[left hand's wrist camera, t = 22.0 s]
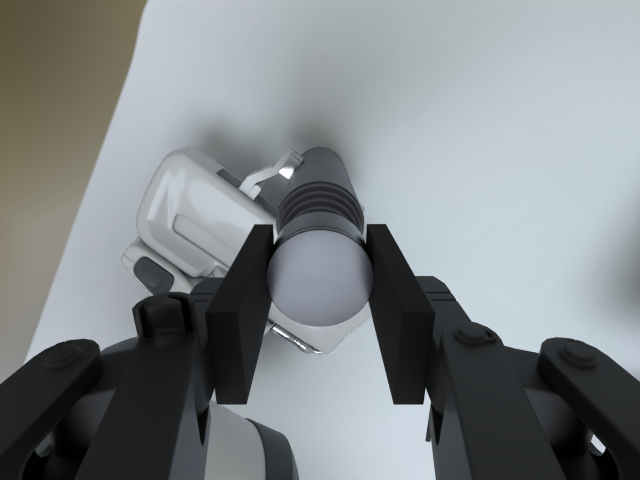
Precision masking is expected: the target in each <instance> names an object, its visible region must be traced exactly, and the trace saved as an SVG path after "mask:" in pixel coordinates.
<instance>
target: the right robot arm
mask: <svg viewBox="0 0 640 480" xmlns="http://www.w3.org/2000/svg"><path fill="white" fill-rule="evenodd" d="M303 159H304V158H303V157H302V156H300V155H299V154H298V153H297V152H296V151H294V150H293V149H292V148H291V147H288V148H287V149H286V151H285V152H284V153H283V154H282V156H281V157H280V158H279V160H278V161H277V163H276V164H275V163H273V164H271V165H268V166H266V167H263V168H261V169H258V170H256V171H253V172H251V173H250V174H249V175H248V176H247V177H246V179H245V180H244V181H242V180H240V179H239V178H238V177H236V176H235V175H234V174H232V173H231V172H230V171H228V170H227V169H226V168H224V167H223V166H222V165H220V164H219V163H218V162H216V161H215V160H214V159H212V158H211V157H210V156H208V155H207V154H206V153H204V152H203V151H202V150H200V149H199V148H197V147H188V148H182V149H178V150H175V151H172V152H171V153H169V154H168V155H167V156H166V157H165V158H164V159H163V161H162V163H161V164H160V166H159V167H158V169H157V171H156V173H155V175H154V176H153V178H152V180H151V182H150V184H149V186H148V188H147V191H146V193H145V195H144V197H143V200H142V202H141V205H140V207H139V210H138V214H137V219H136V225H137V231H138V233H139V235H140V236H139V237H138V238H136V239H135V240H134V241H133V242H132V244H131V245H130V246H129V247H128V248H127V249H126V251H125V252H124V254H123V256H122V264H123V265H124V267H125V268H126V269H127V271H128V272H129V273H130V274H131V275H132V276H133V277H134V278H135V279H136V280H137V281H138V282H139V283H140V284H141V286H142V287H143V288H144V289H145V290H146V291H147V292H148V293H149V295H150V296H153V295H156V294H159V293H165V292H184V293H188V294H190V292H191V291H192V289H193V288H194V286H195V285H196V284H198V283H199V282H201V281H202V280H204V279H205V278H207V277H225V276H226V274H227V272H228V270H229V269H230V267H231V265H232V263H233V262H234V260H235V258H236V256H237V254H238V253H239V251H240V249H241V247H242V246H243V244H244V242H245V240H246V238H247V237H248V235H249V233H250V231H251V229H252V228H253V226H254V224H273V230H274V244H275V241H276V239H277V237H278V235H277V229H276V216H277V212H278V209H279V208H278V207H276V206H275V205H274V204H272V203H271V202H270V201H268V200H267V199H266V198H264V197H263V196H262V195H260V194H259V192H260V191H261V189H262V188H263V186H264V185H265V182H264V181H263V180H265V179H267V178H270V177H272V176H275V175H277V174H279V173H280V174H282V175H283V176H284V177H286V178H287V179H288V180H289V179H290V177H291V176H292V175H293V173H294V171H295V169H296V168H298V167H299V166H300V164H301V163H302V162H303ZM360 206H361V209H362V211H363V212H364V207H363V205H362V204H360ZM371 316H372V314H371V310H370V306H369V302H367V303H366V305H365V306H364V307H363V308H362V309H361V310H360V312H358V313H357V314H356V315H355V316H353V317H352V318H350V319H349V320H346V321H344V322H342V323H339V324H336V325H332V326H324V327H316V326H308V325H304V324H301V323H298V322H296V321H294V320H292V319H290V318H289V317H287V316H285V315H284V314H283V313H282V312H281V311H280V310H279V309H278V308H277V307H276V306H275V304H274V303H273V301H272V303H271V307H270V311H269V315H268V319H267V323H266V327H265V331H264V335H265V334H266V333H267V332H268V331H269V330H270V331H271V332H273V333H274V334H276V335H278V336H279V337H281V338H282V339H284V340H286V341H288V342H290V343H292V344H294V345H295V346H297V348H298V349H299V350H301V351H302V352H304V353H307V354H310V353H311V352H313V353H316V354H328V353H330V352H331V351H332V350H333V349H334V348H335V347H336V346H337V345H338V344H339V343H340V342H341V341H342V340H343V338H344V337H346V336H347V335H349V334H350V333H351V332H353V331H354V330H355V329H356V328H358V327H359V326H360V325H361V324H363V323H364V322H365V321H366V320H367V319H368V318H370V317H371ZM264 335H263V336H264ZM138 341H139V339H138V335H137V337H134V338H130V339H127V340H124V341H122V342H119V343H117V344H114V345H112V346H109V347H107V348H105V349H104V350H102V351H101V355H103V354H108V353H113V352H118V351H123V350H128V349H132V348H135V347H136V345H137V343H138ZM315 348H316V349H315ZM214 392H215V389H214ZM214 392H213V393H214ZM209 406H210V413H211V425H210V433H209V442H208V451H207V459H206V468H205V477H204V480H299V476H298V470H297V466H296V462H295V459H294V455H293V452H292V449H291V447H290V444H289V442H288V440H287V438H286V437H285V436H284V435H283V434H282V433H280V432H277V431H275V430H273V429H271V428H268V427H266V426H264V425H262V424H259V423H257V422H255V421H253V420H250V419H247V418H243V417H241V416H239V415H238V414H236V413H234V412H232V411H231V410H229V409H227V408H225V407H224V406H222V405H220V404H217V402H215V401H213V400H210V402H209ZM49 444H50V441H49V438H48V436H47V437H46V438H45V439H44V440H43V441H42V442H41V443H40V444H39V446H38V447H37V448H36V449H35V451H36V453H37V454H38V455H39V454H40V453H41V452H42V451H43V450H44V449H45V448H46V447H47V446H48V445H49Z"/></svg>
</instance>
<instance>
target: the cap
mask: <svg viewBox="0 0 640 480" xmlns="http://www.w3.org/2000/svg"><path fill="white" fill-rule="evenodd" d="M266 275H267V290H268V293H269V296H270V298H271V300H272V301H273V303H274V304H275V306H276V307H277V308H278V309H279V310H280V311H281V312H282V313H283V314H284V315H285V316H287V317H289V318H290V319H292V320H294V321H296V322H298V323H301V324H304V325H308V326H316V327H324V326H332V325H336V324H339V323H342V322H344V321H346V320H349V319H350V318H352V317H353V316H355V315H356V314H357V313H358V312H360V310H361V309H362V308H363V307H364V306H365V305H366V303H367V302H368V300H369V298H370V296H371V294H372V291H373V279H374V268H373V264H372V261H371V258H370V255H369V252H368V249H367V246H366V243H365V241H364V238H363V236H362V234H361V233H360V231H359V230H358V229H357V227H356V226H355V225H354V224H353V223H351V222H350V221H349V220H347V219H345V218H344V217H342V216H339V215H337V214H334V213H330V212H310V213H307V214H303V215H301V216H298V217H297V218H295V219H293V220H292V221H290V222H289V223H288V224H287V225H286V226H285V227H284V228H283V229H282V230H281V232H280V233H279V235H278V237H277V239H276V241H275V244H274V247H273V250H272V253H271V256H270V259H269V262H268V265H267V269H266Z"/></svg>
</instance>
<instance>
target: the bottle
mask: <svg viewBox="0 0 640 480" xmlns="http://www.w3.org/2000/svg"><path fill="white" fill-rule="evenodd" d="M302 157H303V158H304V159H303V162H302V163H301V164H300V166H299V167H298V168H296V169H295V171H294V173H293V175H292V177H291V180H290V182H289V184H288V187H287V189H286V192H285V194H284V197H283V199H282V202H281V204H280V206H279V209H278V212H277V216H276V229H277V235H279V233H280V232H281V230H282V229H283V228H284V227H285V226H286V225H287V224H288V223H289V222H290V221H292V220H293V219H295V218H297V217H298V216H301V215H303V214H307V213H310V212H330V213H334V214H337V215H339V216H342V217H344V218H345V219H347V220H349V221H350V222H351V223H353V224H354V225H355V226H356V227H357V229H358V230H359V231H360V233H361V234H362V236H363V230H364V216H363V211H362V209H361V206H360V203H359V201H358V199H357V196H356V194H355V191H354V189H353V187H352V184H351V182H350V179H349V177H348V174H347V172H346V170H345V167H344V165H343V162H342V160H341V159H340V157H339V156H338V155H337V154H336V153H335V152H333V151H332V150H330V149H327V148H322V147H318V148H313V149H310V150H308V151H306V152H305V153H304V154H303V155H302Z"/></svg>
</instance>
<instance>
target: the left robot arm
mask: <svg viewBox="0 0 640 480" xmlns="http://www.w3.org/2000/svg"><path fill="white" fill-rule="evenodd" d="M366 246H367V249H368V252H369V255H370V258H371V261H372V264H373V268H374V279H373V291H372V294H371V296H370V298H369V300H368V302H369V306H370V310H371V314H372V318H373V322H374V326H375V331H376V335H377V339H378V343H379V347H380V351H381V355H382V359H383V363H384V367H385V371H386V375H387V379H388V383H389V387H390V391H391V395H392V399H393V403H394V404H423V403H424V395H425V388H426V389H427V392H428V395H429V397H430V400H431V406H430V413H429V420H428V427H427V434H426V441H427V442H430V440H431V441H432V450H433V459H434V467H435V476H436V480H640V382H639V381H638V380H637V379H636V378H634V377H633V376H632V375H631V374H630V373H628V372H627V371H626V370H625V369H623V368H622V367H621V366H620V365H618V364H617V363H616V362H615V361H614V360H612V359H611V358H610V357H609V356H607V355H606V354H604V353H603V352H601V351H600V350H598V349H597V348H595V347H593V346H590V345H588V344H586V343H584V342H582V341H579V340H575V339H570V338H558V337H555V338H550V339H546V340H545V341H544V342H543V343H542V345H541V349H540V352H539V353H535V352H530V351H525V350H520V349H515V348H511V347H507V346H504V344H503V342H502V340H501V339H500V337H499V336H498V335H497V334H496V333H495V332H494V331H492V330H491V329H489V328H488V327H486V326H483V325H481V324H478V323H475V322H472V321H471V320H470V319H469V317H468V316H467V314H466V313H465V312H464V310H463V309H462V307H461V306H460V304H459V303H458V302H457V301H456V299H455V297H454V296H453V295H452V294H451V292H450V290H449V289H448V287H447V286H446V285H445V283H443V282H442V281H440V280H438V279H437V278H435V277H434V276H415V275H414V274H413V272H412V270H411V268H410V266H409V265H408V263H407V261H406V259H405V258H404V256H403V254H402V252H401V250H400V249H399V247H398V245H397V243H396V242H395V240H394V238H393V236H392V234H391V233H390V231H389V229H388V227H387V226H386V224H367V235H366ZM273 247H274V230H273V224H254V226H253V228H252V229H251V231H250V233H249V235H248V237H247V238H246V240H245V242H244V244H243V246H242V247H241V249H240V251H239V253H238V254H237V256H236V258H235V260H234V262H233V263H232V265H231V267H230V269H229V270H228V272H227V274H226V276H225V277H207V278H205V279H204V280H202V281H201V282H199V283H198V284H196V285H195V286H194V288H193V289H192V291H191V292H190V294H188V293H184V292H165V293H159V294H156V295H153V296H150V297H147V298H145V299H143V300H142V301H140V302H138V303H137V304H136V305H135V306H134V307H133V308H132V311H133V316H134V320H135V325H136V330H137V334H138V339H139V341H138V343H137V345H136V347H135V348H132V349H128V350H123V351H118V352H113V353H108V354H103V355H101V351H100V348H99V345H98V344H97V343H96V342H95V341H93V340H88V339H77V340H69V341H66V342H61V343H58V344H56V345H54V346H52V347H50V348H47V349H45V350H44V351H42V352H41V353H39V354H38V355H36V356H34V357H33V358H32V359H31V360H29V361H28V362H27V363H26V364H25V365H23V366H22V367H21V368H20V369H18V370H17V371H16V372H15V373H14V374H12V375H11V376H10V377H9V378H7V379H6V380H5V381H4V382H3V383H1V384H0V480H204V477H205V468H206V459H207V451H208V442H209V433H210V425H211V413H210V406H209V402H210V400H211V397H212V394H213V392H214V389H215V394H216V401H217V404H247V400H248V396H249V392H250V388H251V384H252V380H253V376H254V372H255V368H256V364H257V360H258V356H259V352H260V348H261V344H262V339H263V335H264V331H265V327H266V323H267V319H268V315H269V311H270V307H271V303H272V300H271V298H270V296H269V293H268V290H267V275H266V269H267V265H268V262H269V259H270V256H271V253H272V250H273ZM593 434H594V435H595V436H596V437H597V438H598V439H599V440H600V441H601V443H602V444H603V445H604V446H605V447H606V449H605V451H604V453H601V452H600V451H599V450H598V449H597V448H596V447H595V446H594V445H593V444H592V442H591V439H592V437H593ZM47 436H48V438H49V441H50V444H49V445H48V446H47V447H46V448H45V449H44V450H43V451H42V452H41V453H40V454H39V455H38V454H37V453H36V451H35V449H36V448H37V447H38V446H39V444H40V443H41V442H42V441H43V440H44V439H45V438H46V437H47Z"/></svg>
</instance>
